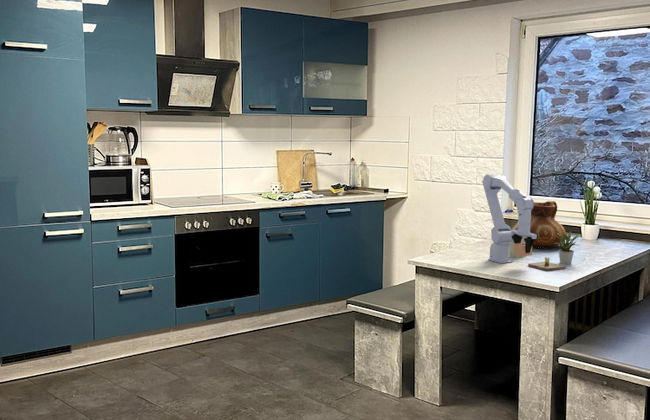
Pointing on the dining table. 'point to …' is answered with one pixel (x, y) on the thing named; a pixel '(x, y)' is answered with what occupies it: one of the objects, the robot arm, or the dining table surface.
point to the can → (513, 248)
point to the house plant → (566, 248)
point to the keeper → (546, 265)
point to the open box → (521, 249)
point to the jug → (545, 225)
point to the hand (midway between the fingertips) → (522, 251)
